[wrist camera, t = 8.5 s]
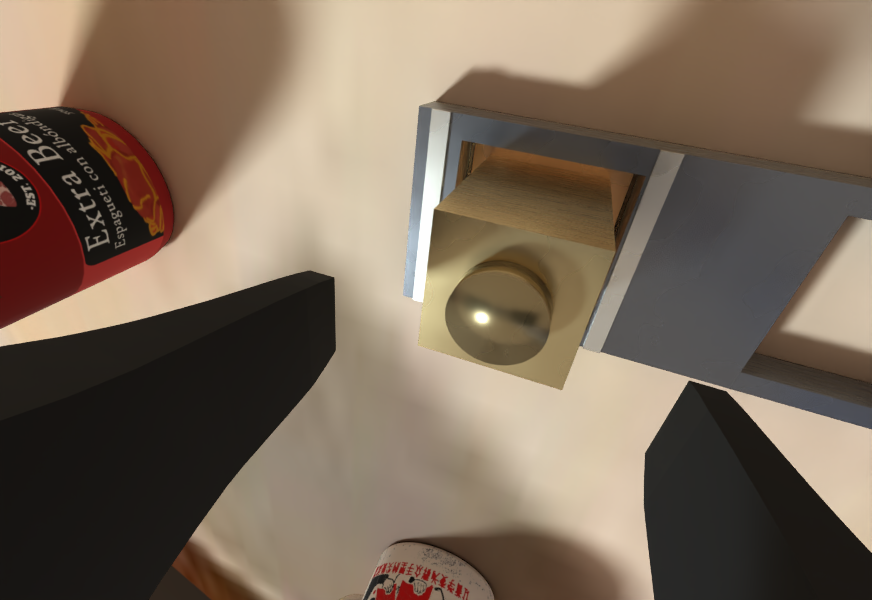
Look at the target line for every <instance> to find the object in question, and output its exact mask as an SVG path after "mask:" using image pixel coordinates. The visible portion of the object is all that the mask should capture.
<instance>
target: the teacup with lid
mask: <svg viewBox="0 0 872 600" xmlns="http://www.w3.org/2000/svg"><path fill="white" fill-rule="evenodd" d="M339 600H494V596H493V593H492V590H491V588H490V586H489V585H488V583H487V582H486V580H485V579H484V578H483V577H482V576H481V575H480V573H479V572H477V571H476V570H475V569H474V568H473V567H472V566H470V565H469V564H468V563H466V562H465V561H463V560H462V559H460V558H458V557H457V556H455V555H453V554H451V553H449V552H447V551H444V550H442V549H439V548H437V547H434V546H430V545H426V544H421V543H414V542H404V543H398V544H394V545H392V546H390V547H388V548H387V549H386V550H385V551H384V552H383V553H382V555H381V557H380V559H379V561H378V564H377V566H376V568H375V571H374V573H373V575H372V578H371V580H370V582H369V584H368V587H367V589H366V591H365V594H364V595H361V594H353V595H348V596H345V597H343V598H341V599H339Z"/></svg>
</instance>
